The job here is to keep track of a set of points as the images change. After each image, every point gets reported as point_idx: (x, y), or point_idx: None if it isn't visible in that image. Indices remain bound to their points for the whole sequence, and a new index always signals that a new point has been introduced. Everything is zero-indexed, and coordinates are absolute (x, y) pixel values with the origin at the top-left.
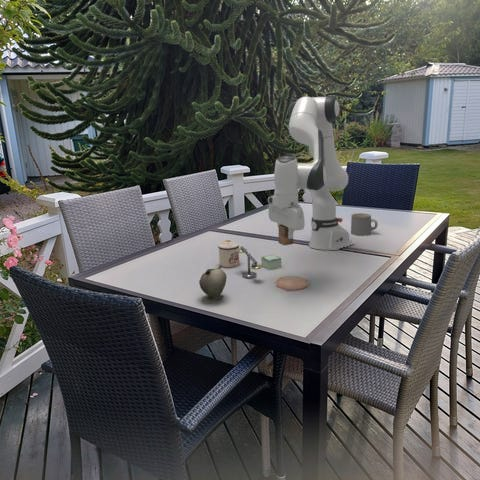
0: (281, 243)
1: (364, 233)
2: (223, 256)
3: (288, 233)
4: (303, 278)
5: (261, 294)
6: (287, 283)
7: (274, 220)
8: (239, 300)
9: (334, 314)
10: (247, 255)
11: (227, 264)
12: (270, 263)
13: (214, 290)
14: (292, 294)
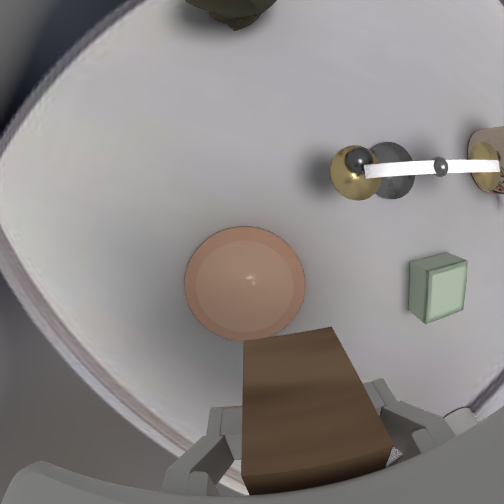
0: (284, 338)
1: None
2: (496, 130)
3: (210, 441)
4: (256, 337)
5: (195, 144)
6: (230, 266)
7: (499, 425)
8: (179, 65)
9: (33, 293)
10: (435, 157)
11: (475, 141)
12: (421, 275)
13: None
14: (157, 250)
